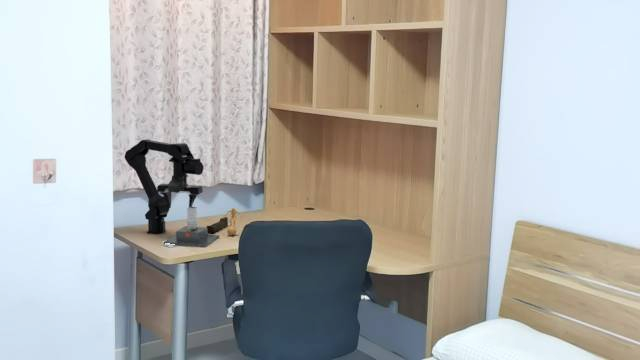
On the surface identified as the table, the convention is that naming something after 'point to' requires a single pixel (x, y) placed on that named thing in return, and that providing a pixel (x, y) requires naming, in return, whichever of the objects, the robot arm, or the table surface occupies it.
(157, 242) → the table surface
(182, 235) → the stand
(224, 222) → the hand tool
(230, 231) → the figurine
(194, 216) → the column
